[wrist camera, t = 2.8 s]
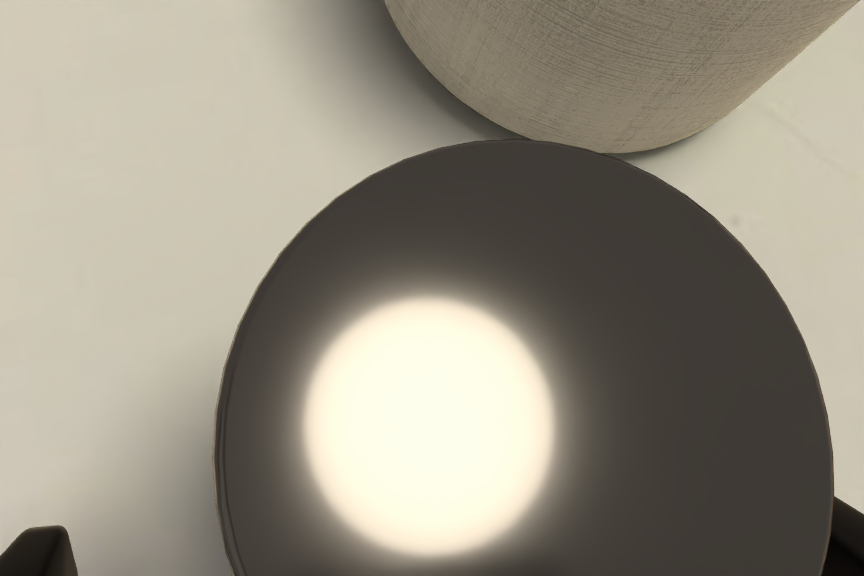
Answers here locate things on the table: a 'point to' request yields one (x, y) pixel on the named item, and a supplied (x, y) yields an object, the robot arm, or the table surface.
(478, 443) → the dark grey cylinder
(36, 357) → the table surface
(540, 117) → the planter
